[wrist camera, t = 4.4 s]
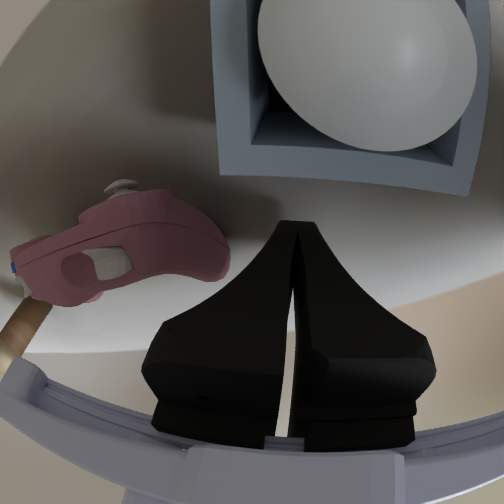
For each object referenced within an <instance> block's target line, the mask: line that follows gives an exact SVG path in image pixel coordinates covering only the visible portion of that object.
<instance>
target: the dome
mask: <svg viewBox="0 0 504 504" xmlns="http://www.w3.org/2000/svg"><path fill="white" fill-rule="evenodd" d="M258 40H259V48H260V52H261V56H262V60H263V63H264V65H265V68H266V70H267V73H268V75H269V77H270V79H271V80H272V82H273V84H274V86H275V88H276V89H277V90H278V92H279V93H280V95H281V96H282V97H283V99H284V100H285V101H286V102H287V103H288V105H289V106H290V107H291V108H292V109H293V110H294V111H295V112H296V113H297V114H298V115H299V116H300V117H301V118H303V119H304V120H305V121H306V122H307V123H309V124H310V125H312V126H313V127H314V128H316V129H317V130H318V131H320V132H322V133H324V134H326V135H327V136H329V137H331V138H333V139H335V140H338V141H340V142H342V143H345V144H348V145H351V146H354V147H357V148H362V149H367V150H372V151H386V152H387V151H401V150H407V149H412V148H415V147H419V146H422V145H425V144H427V143H429V142H431V141H433V140H435V139H437V138H438V137H440V136H441V135H443V134H444V133H445V132H447V131H448V130H449V129H450V128H451V127H452V126H453V125H454V124H455V123H456V122H457V121H458V119H459V118H460V117H461V116H462V114H463V113H464V111H465V109H466V108H467V106H468V104H469V102H470V99H471V97H472V94H473V91H474V87H475V83H476V75H477V55H476V48H475V43H474V39H473V36H472V32H471V30H470V27H469V25H468V22H467V20H466V18H465V16H464V14H463V12H462V11H461V9H460V7H459V6H458V4H457V3H456V1H455V0H263V1H262V4H261V8H260V13H259V17H258Z"/></svg>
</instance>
